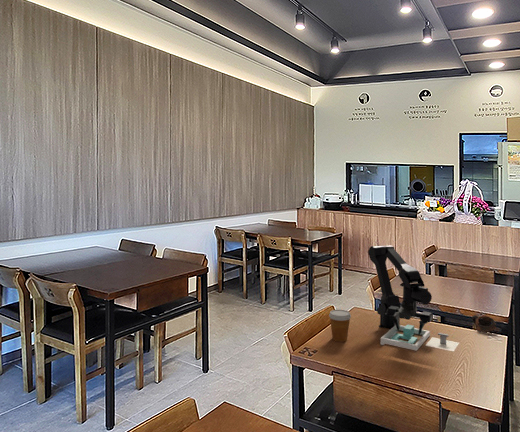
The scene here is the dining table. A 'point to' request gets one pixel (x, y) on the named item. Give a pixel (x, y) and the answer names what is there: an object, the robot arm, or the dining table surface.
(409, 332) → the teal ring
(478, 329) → the pottery mug
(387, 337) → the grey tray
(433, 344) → the stake board
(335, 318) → the disposable coffee cup
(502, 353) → the dining table surface
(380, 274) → the robot arm
